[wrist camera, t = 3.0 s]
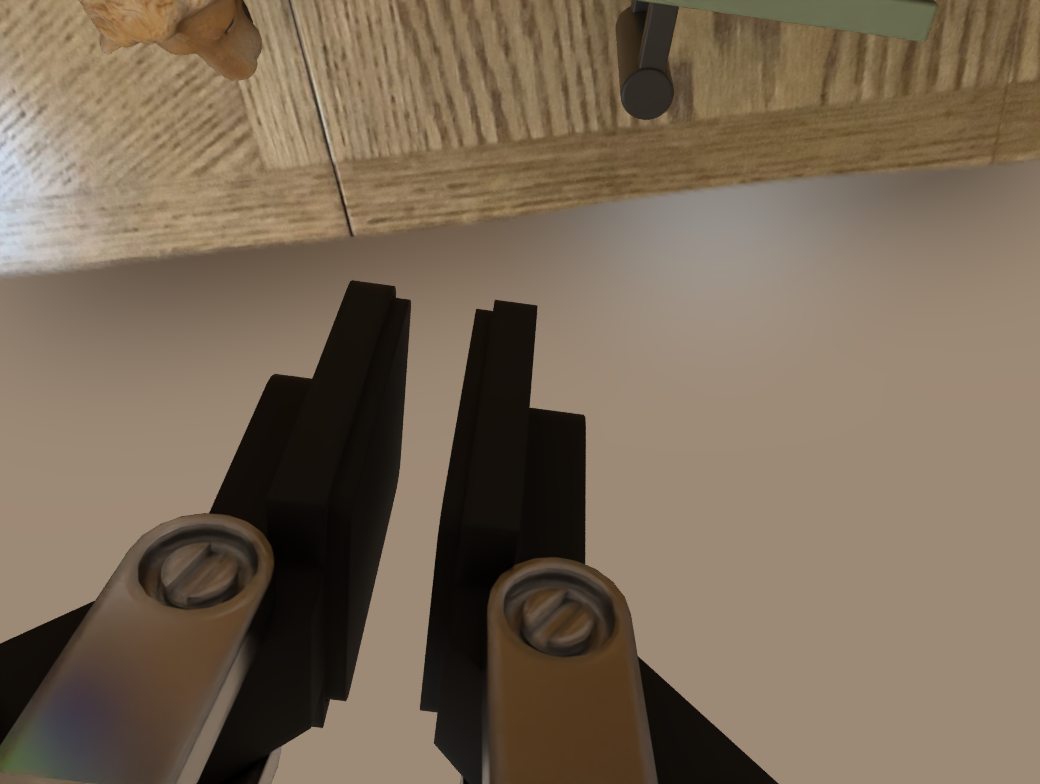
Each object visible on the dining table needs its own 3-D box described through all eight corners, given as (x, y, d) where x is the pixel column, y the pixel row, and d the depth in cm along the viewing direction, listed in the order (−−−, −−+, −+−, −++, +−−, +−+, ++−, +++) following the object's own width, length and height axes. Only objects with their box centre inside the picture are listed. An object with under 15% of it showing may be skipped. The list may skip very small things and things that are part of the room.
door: (864, -70, 26) (940, 4, 20) (823, 62, 28) (882, 163, 22) (615, -107, 26) (624, -43, 20) (593, 29, 28) (594, 122, 22)
